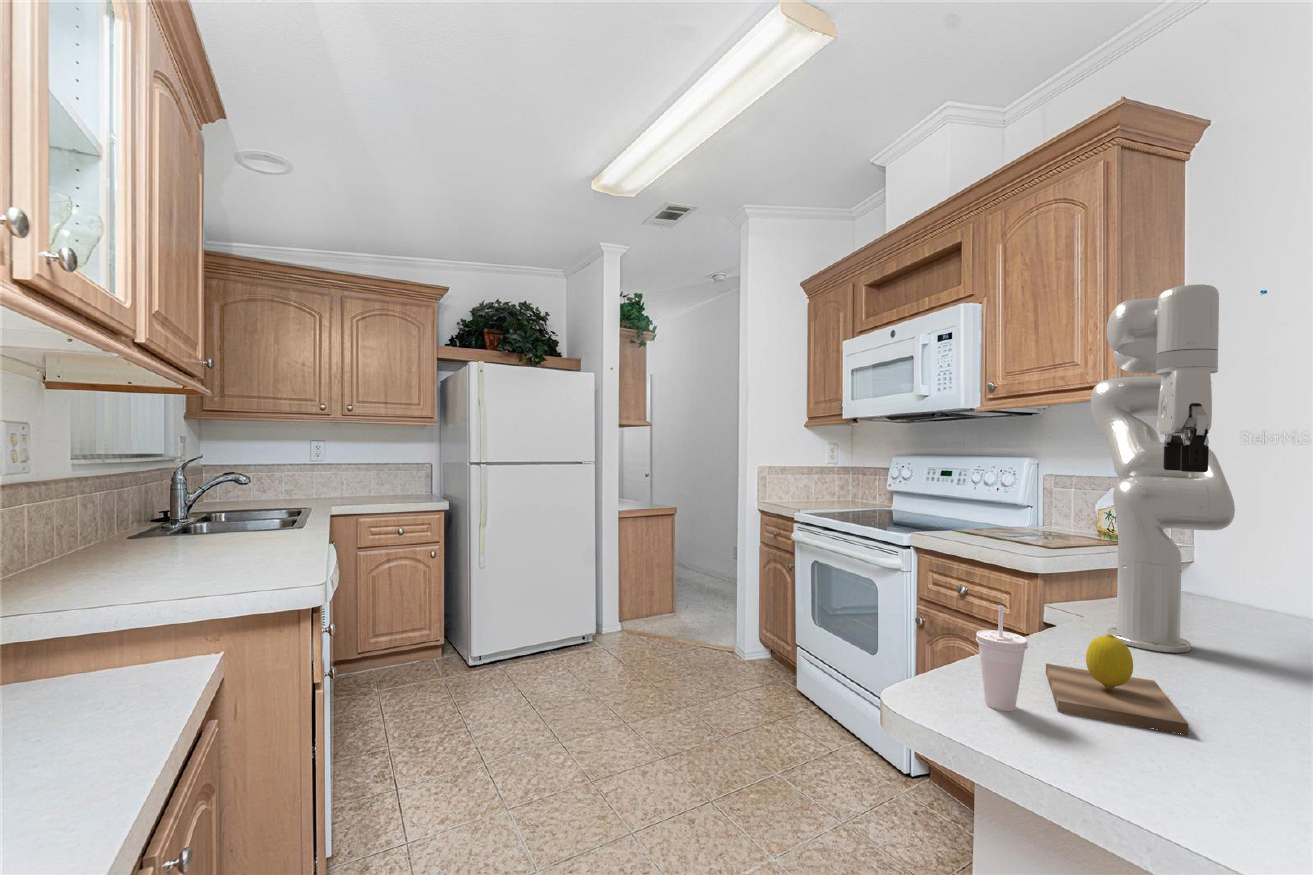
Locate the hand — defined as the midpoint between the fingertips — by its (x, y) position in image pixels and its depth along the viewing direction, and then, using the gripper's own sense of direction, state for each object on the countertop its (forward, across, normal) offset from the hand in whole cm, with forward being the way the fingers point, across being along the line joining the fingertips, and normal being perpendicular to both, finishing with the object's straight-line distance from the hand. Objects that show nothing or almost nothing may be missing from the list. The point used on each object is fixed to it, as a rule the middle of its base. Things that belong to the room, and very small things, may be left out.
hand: (1184, 471), depth 99 cm
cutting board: (+33, +16, -12) cm, 39 cm away
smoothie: (+34, +27, -26) cm, 50 cm away
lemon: (+32, +16, -12) cm, 38 cm away
